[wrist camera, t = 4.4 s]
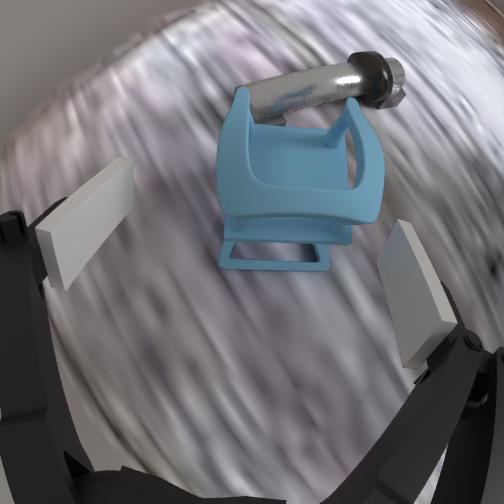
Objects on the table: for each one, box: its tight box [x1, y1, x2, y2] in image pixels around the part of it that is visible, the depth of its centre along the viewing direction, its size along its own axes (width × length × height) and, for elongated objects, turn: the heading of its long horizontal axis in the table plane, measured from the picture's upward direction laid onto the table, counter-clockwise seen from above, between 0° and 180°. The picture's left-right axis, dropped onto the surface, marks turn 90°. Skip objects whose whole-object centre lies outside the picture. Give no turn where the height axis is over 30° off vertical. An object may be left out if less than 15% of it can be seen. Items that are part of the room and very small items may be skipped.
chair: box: [216, 87, 384, 271], centre depth 17 cm, size 8×8×12 cm
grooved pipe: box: [235, 51, 406, 126], centre depth 22 cm, size 14×5×5 cm, turn 112°
